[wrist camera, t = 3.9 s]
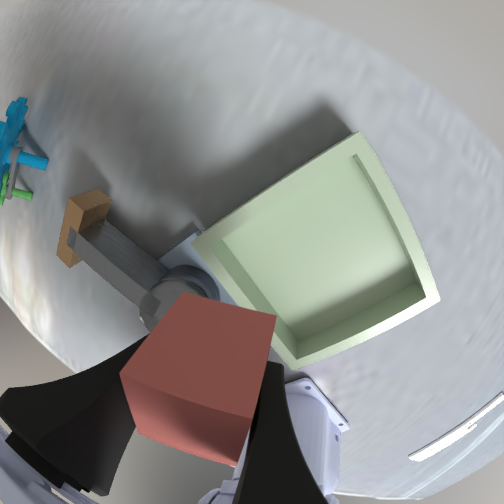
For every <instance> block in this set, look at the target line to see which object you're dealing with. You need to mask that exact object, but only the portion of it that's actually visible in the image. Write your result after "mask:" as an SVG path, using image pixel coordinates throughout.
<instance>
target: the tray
mask: <svg viewBox="0 0 504 504" xmlns="http://www.w3.org/2000/svg"><path fill="white" fill-rule="evenodd" d="M190 244H191V245H192V246H193V248H194V249H195V250H196V252H197V253H198V254H199V256H200V257H201V258H202V260H203V261H204V262H205V264H206V265H207V266H208V268H209V269H210V270H211V271H212V273H213V274H214V275H215V277H216V278H217V279H218V281H219V282H220V283H221V284H222V286H223V287H224V288H225V290H226V291H227V292H228V293H229V295H230V296H231V297H232V298H233V300H234V301H235V302H236V303H237V305H238V306H239V307H243V308H247V309H251V310H256V311H260V312H264V313H268V314H273V315H277V319H276V323H275V328H274V332H273V337H272V341H271V346H272V348H273V349H274V350H275V351H276V352H277V354H278V355H279V356H280V357H281V358H282V360H283V361H284V362H285V363H286V364H287V365H288V367H289V368H290V369H291V370H292V371H293V370H296V369H299V368H302V367H304V366H307V365H310V364H312V363H315V362H317V361H320V360H322V359H325V358H327V357H330V356H332V355H334V354H337V353H339V352H341V351H344V350H346V349H348V348H350V347H353V346H355V345H357V344H359V343H361V342H364V341H366V340H368V339H370V338H372V337H374V336H376V335H378V334H380V333H382V332H384V331H386V330H388V329H390V328H392V327H394V326H396V325H398V324H400V323H402V322H404V321H405V320H407V319H409V318H411V317H413V316H415V315H416V314H418V313H420V312H422V311H423V310H425V309H427V308H429V307H430V306H432V305H434V304H435V303H437V302H439V301H440V297H439V294H438V291H437V288H436V285H435V282H434V279H433V276H432V273H431V271H430V268H429V265H428V263H427V260H426V257H425V255H424V252H423V250H422V247H421V245H420V242H419V240H418V238H417V235H416V233H415V231H414V228H413V226H412V224H411V222H410V220H409V217H408V215H407V213H406V211H405V209H404V207H403V205H402V203H401V201H400V199H399V197H398V195H397V193H396V191H395V189H394V187H393V185H392V183H391V181H390V180H389V178H388V176H387V174H386V172H385V170H384V169H383V167H382V165H381V163H380V162H379V160H378V158H377V157H376V155H375V153H374V151H373V150H372V148H371V147H370V145H369V143H368V142H367V140H366V138H365V137H364V135H363V134H362V132H361V131H359V132H355V133H352V134H351V135H349V136H347V137H346V138H344V139H342V140H341V141H339V142H338V143H336V144H334V145H333V146H331V147H329V148H328V149H326V150H325V151H323V152H321V153H320V154H318V155H317V156H315V157H313V158H312V159H310V160H309V161H307V162H306V163H304V164H302V165H301V166H299V167H298V168H296V169H295V170H293V171H292V172H290V173H289V174H287V175H285V176H284V177H282V178H281V179H279V180H278V181H276V182H275V183H273V184H272V185H270V186H269V187H267V188H266V189H264V190H263V191H261V192H260V193H258V194H257V195H255V196H254V197H252V198H251V199H250V200H248V201H247V202H245V203H244V204H242V205H241V206H239V207H238V208H236V209H235V210H234V211H232V212H231V213H229V214H228V215H226V216H225V217H223V218H222V219H221V220H219V221H218V222H216V223H215V224H214V225H212V226H211V227H209V228H208V229H207V230H205V231H204V232H203V233H202V234H201V235H199V236H198V237H197V238H196V239H195V240H194V241H193V242H191V243H190Z"/></svg>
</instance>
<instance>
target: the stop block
mask: <svg viewBox="0 0 504 504" xmlns="http://www.w3.org/2000/svg"><path fill="white" fill-rule="evenodd" d="M276 319H277V315H273V314H268V313H264V312H260V311H256V310H251V309H247V308H243V307H239V306H235V305H231V304H227V303H223V302H219V301H216V300H212V299H208V298H204V297H200V296H197V295H193V294H189V293H186V292H183V293H182V294H181V295H180V297H179V298H178V299H177V300H176V301H175V303H174V304H173V305H172V306H171V308H170V309H169V310H168V311H167V313H166V314H165V315H164V316H163V318H162V319H161V320H160V321H159V323H158V324H157V325H156V326H155V328H154V329H153V330H152V332H151V333H150V334H149V335H148V337H147V338H146V339H145V340H144V342H143V343H142V344H141V346H140V347H139V348H138V349H137V351H136V352H135V353H134V355H133V356H132V357H131V358H130V360H129V361H128V362H127V364H126V365H125V366H124V367H123V369H122V370H121V371H120V373H119V374H120V378H121V381H122V385H123V388H124V391H125V395H126V398H127V401H128V404H129V407H130V410H131V413H132V416H133V419H134V422H135V425H136V427H137V430H138V432H139V434H141V435H144V436H146V437H148V438H151V439H153V440H155V441H158V442H160V443H163V444H165V445H168V446H171V447H174V448H176V449H179V450H182V451H185V452H188V453H191V454H194V455H196V456H200V457H203V458H206V459H210V460H213V461H216V462H220V463H224V464H228V465H232V466H236V467H237V464H238V461H239V458H240V455H241V452H242V449H243V447H244V444H245V441H246V438H247V435H248V432H249V429H250V426H251V423H252V419H253V416H254V412H255V408H256V404H257V400H258V396H259V392H260V388H261V384H262V380H263V376H264V371H265V367H266V363H267V359H268V354H269V350H270V346H271V341H272V337H273V332H274V328H275V323H276Z"/></svg>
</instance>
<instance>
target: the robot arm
mask: <svg viewBox="0 0 504 504" xmlns="http://www.w3.org/2000/svg"><path fill="white" fill-rule="evenodd" d="M149 334H150V333H149ZM149 334H148V335H149ZM148 335H146V336H145V337H143V338H142V339H140V340H138V341H137V342H135V343H134V344H132V345H131V346H129V347H127V348H126V349H124V350H123V351H121V352H119V353H118V354H116V355H114V356H112V357H111V358H109V359H107V360H105V361H103V362H101V363H99V364H98V365H96V366H94V367H91V368H89V369H87V370H85V371H82V372H80V373H77V374H75V375H72V376H69V377H66V378H63V379H59V380H57V381H53V382H48V383H44V384H39V385H33V386H25V387H15V388H8V389H7V390H6V391H5V392H4V393H3V394H2V396H1V397H0V417H1V418H2V419H3V420H4V422H5V423H6V424H7V425H8V426H9V427H10V429H11V430H12V432H11V434H10V435H9V434H8V433H7V432H6V431H5V430H4V429H3V428H2V427H1V426H0V499H1V501H2V502H3V503H4V504H69V503H67V502H66V501H64V500H63V499H61V498H60V497H58V496H57V495H55V494H54V493H52V491H51V487H52V488H53V489H55V490H56V491H58V492H59V493H60V494H62V495H63V496H64V497H66V498H67V499H69V500H70V501H72V502H73V503H75V504H98V503H97V502H95V501H93V500H91V499H90V498H88V497H87V496H85V495H84V494H82V493H80V491H81V489H83V490H84V491H86V492H88V493H89V492H90V491H93V492H94V493H96V494H98V495H99V496H107V495H109V491H110V488H111V485H112V482H113V479H114V476H115V473H116V470H117V468H118V465H119V463H120V460H121V458H122V455H123V453H124V451H125V449H126V446H127V444H128V442H129V440H130V438H131V436H132V433H133V431H134V429H135V427H136V425H135V422H134V419H133V416H132V413H131V410H130V407H129V404H128V401H127V398H126V395H125V391H124V388H123V385H122V381H121V378H120V374H119V373H120V371H121V370H122V369H123V367H124V366H125V365H126V364H127V362H128V361H129V360H130V358H131V357H132V356H133V355H134V353H135V352H136V351H137V349H138V348H139V347H140V346H141V344H142V343H143V342H144V340H145V339H146V338H147V337H148ZM308 386H309V387H308ZM349 428H350V426H349V424H348V423H347V422H346V421H345V419H344V418H343V417H342V416H341V415H340V414H339V412H338V411H337V410H336V409H335V408H334V407H333V406H332V404H331V403H330V402H329V401H328V400H327V399H326V397H325V396H324V395H323V394H322V393H321V392H320V390H319V389H318V388H317V387H316V386H315V384H314V383H313V382H312V381H311V380H310V379H309V378H302V379H299V380H296V381H293V382H290V383H287V384H284V366H283V365H282V364H279V363H275V362H270V361H267V363H266V367H265V371H264V376H263V380H262V384H261V388H260V392H259V396H258V400H257V404H256V408H255V412H254V416H253V419H252V423H251V426H250V429H249V432H248V435H247V438H246V441H245V444H244V447H243V449H242V452H241V455H240V458H239V461H238V464H237V467H236V468H235V472H234V475H233V478H232V481H229V480H223V483H222V486H221V489H214V490H211V491H210V492H209V493H207V494H206V495H205V496H204V497H203V498H202V499H201V500H200V501H199V502H198V504H339V500H338V499H337V498H334V495H331V493H332V492H333V490H334V489H335V488H336V486H337V484H338V482H339V478H340V462H341V432H343V431H346V430H348V429H349ZM50 486H51V487H50Z"/></svg>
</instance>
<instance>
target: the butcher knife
mask: <svg viewBox="0 0 504 504" xmlns="http://www.w3.org/2000/svg"><path fill="white" fill-rule="evenodd" d="M502 400H504V394H503V393H502V392H501V393H500V394H499V395H498V396H496V397H495V398H494V399H493V400H492V401H490V402H489V403H488V404H487V405H486V406H484V407H483V408H482V409H481V410H479V411H478V412H477V413H475V414H474V415H473V416H471V417H470V418H469V419H467V420H466V421H464V423H462V424H460V425H459V426H457V427H456V428H454V429H453V430H451V431H450V432H448V433H447V434H445V435H444V436H442V437H441V438H439V439H437V440H436V441H434V442H432V443H431V444H429V445H427V446H425V447H424V448H422V449H420V450H418V451H416V452H415V453H413V454H411V455H409V456H408V457H409V459H411V460H413V461H415V460H416V461H420V462H421V460H422V461H423V459H424V460H425V458H427V457H429V456H432V455H434V453H436V452H439V451H440V450H441V449H444V448H445V447H446V446H449V445H450V444H452V443H453V442H455V441H456V440H457V439H459V438H461V437H462V436H464V435H465V434H467V433H468V432H470V431H471V430H472V429H474V428H475V427H476V426H478V425H476V422H475V421H477V420H478V419H479V418H480V417H482V416H483V415H485V414H486V413H487V412H488V411H489V410H491V409H492V408H493V407H495V406H496V405H497V404H499V403H500V402H501V401H502ZM484 413H485V414H484Z"/></svg>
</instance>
